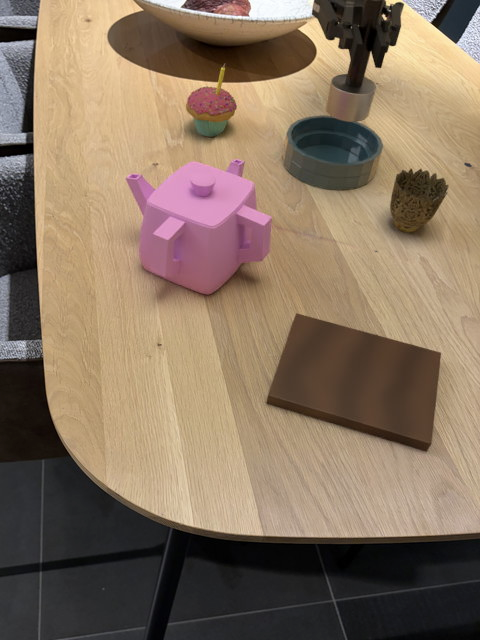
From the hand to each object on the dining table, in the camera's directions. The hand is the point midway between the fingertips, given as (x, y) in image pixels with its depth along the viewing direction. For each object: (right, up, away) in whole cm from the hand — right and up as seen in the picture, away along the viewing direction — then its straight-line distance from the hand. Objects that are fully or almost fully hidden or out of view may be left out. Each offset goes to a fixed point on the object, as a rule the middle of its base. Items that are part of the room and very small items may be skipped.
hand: (369, 56), depth 78 cm
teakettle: (-22, -24, +7) cm, 34 cm away
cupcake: (-20, +2, +29) cm, 35 cm away
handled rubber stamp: (0, -2, +11) cm, 11 cm away
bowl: (0, -6, +23) cm, 24 cm away
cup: (+9, -19, +13) cm, 25 cm away
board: (-4, -42, -7) cm, 42 cm away
